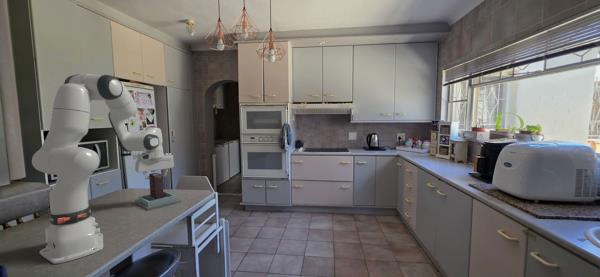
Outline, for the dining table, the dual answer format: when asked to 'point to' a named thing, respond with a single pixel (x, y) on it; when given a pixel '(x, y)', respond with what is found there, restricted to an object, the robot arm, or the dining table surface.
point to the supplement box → (156, 186)
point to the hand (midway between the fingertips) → (156, 177)
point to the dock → (157, 201)
